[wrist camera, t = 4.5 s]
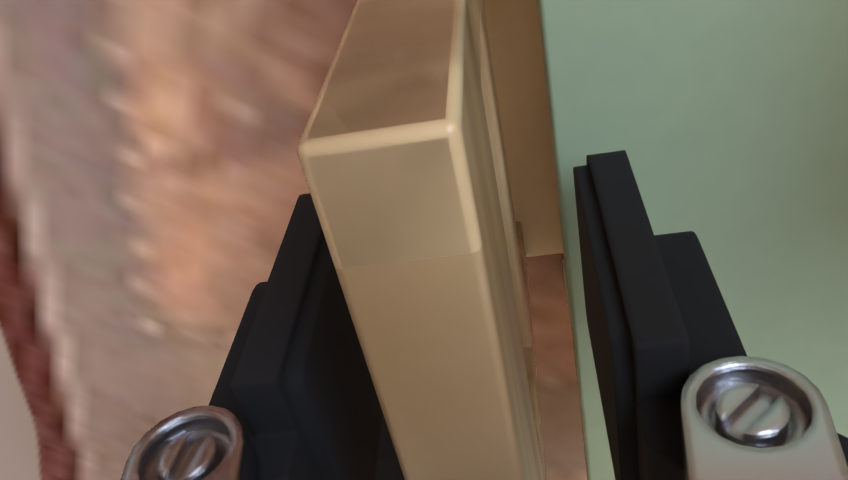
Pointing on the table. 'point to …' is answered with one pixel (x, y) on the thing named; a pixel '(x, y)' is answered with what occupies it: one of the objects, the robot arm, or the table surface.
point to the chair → (441, 222)
